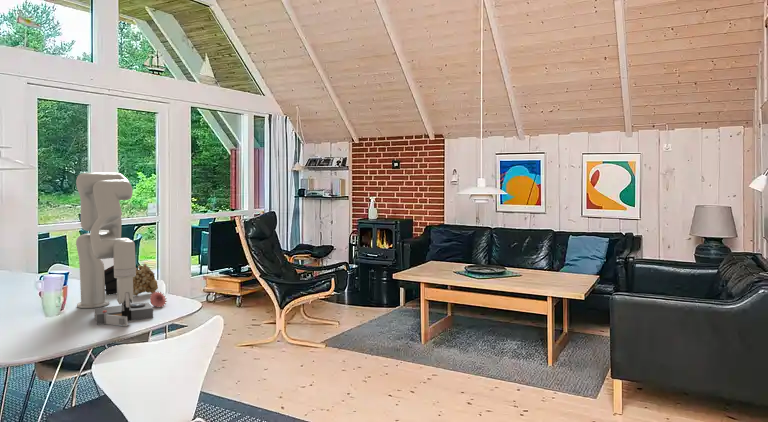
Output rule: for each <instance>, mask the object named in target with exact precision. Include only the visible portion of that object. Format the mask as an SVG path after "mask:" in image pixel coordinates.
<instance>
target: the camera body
mask: <svg viewBox="0 0 768 422" xmlns="http://www.w3.org/2000/svg"><path fill="white" fill-rule="evenodd" d="M93 310H94V319H95V323H96V325H103V324H104V314H107V315H117V316H122V304H121V305H120V304H119V305H112V306H102V307H96V308H93ZM152 318H154V308H153V305H152V304H151V303H150V302H148V301H147V302H139V303H137V302H136V303H131V319H132V320H131V321H136V320H143V319H152ZM104 325H105V324H104Z"/></svg>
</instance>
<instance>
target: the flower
mask: <svg viewBox="0 0 768 422" xmlns="http://www.w3.org/2000/svg"><path fill="white" fill-rule="evenodd" d="M152 293H153V294H152ZM152 293H150V295H149V298H150V299H149V301H150V302H149V304H150V305H151V306H152V307H157V308H159V307H160V308H162V307H165V305H166V304H167V302H168V300H167V298H166V295H165V294H164V293H162V292H161V291H160V292H159V291H157V290H156V291H155V293H154V292H152Z"/></svg>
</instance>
